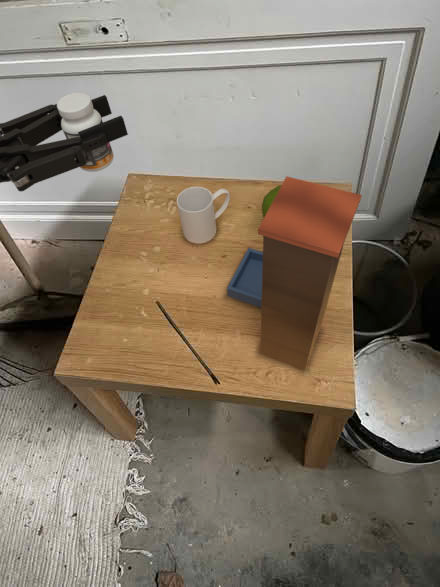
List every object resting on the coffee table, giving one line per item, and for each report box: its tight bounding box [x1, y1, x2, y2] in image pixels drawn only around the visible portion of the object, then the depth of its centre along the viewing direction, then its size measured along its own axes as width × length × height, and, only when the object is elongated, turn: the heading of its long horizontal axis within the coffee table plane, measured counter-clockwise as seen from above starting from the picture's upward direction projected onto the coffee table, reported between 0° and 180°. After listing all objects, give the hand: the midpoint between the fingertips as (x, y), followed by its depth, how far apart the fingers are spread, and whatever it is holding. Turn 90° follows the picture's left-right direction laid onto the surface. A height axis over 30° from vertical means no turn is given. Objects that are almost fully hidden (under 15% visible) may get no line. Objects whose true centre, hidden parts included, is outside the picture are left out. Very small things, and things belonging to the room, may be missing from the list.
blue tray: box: [226, 247, 263, 308], centre depth 88 cm, size 12×12×3 cm
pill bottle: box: [56, 92, 115, 173], centre depth 61 cm, size 6×6×10 cm
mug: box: [176, 186, 231, 245], centre depth 95 cm, size 12×8×10 cm, turn 117°
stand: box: [257, 176, 363, 371], centre depth 66 cm, size 10×10×36 cm
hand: (116, 114), depth 61 cm, fingers closed on pill bottle, 6 cm apart
